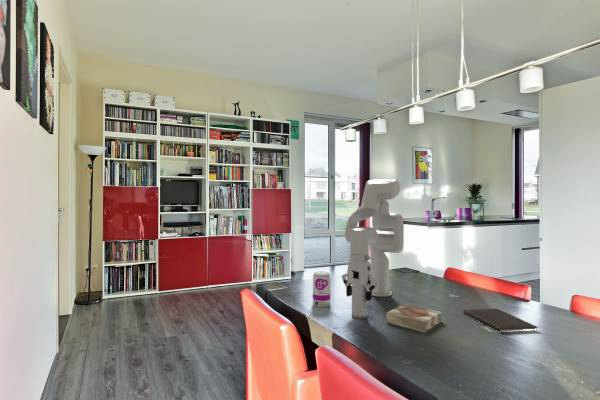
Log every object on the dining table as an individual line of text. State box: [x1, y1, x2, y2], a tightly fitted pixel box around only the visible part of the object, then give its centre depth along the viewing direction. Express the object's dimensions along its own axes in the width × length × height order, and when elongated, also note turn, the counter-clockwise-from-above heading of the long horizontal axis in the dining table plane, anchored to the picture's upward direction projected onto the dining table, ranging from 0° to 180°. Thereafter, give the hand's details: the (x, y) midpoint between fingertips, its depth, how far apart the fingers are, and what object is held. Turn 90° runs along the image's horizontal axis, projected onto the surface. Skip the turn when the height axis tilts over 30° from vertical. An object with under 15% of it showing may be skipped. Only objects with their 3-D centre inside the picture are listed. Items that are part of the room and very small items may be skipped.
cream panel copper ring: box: [385, 303, 442, 333], centre depth 146 cm, size 16×16×4 cm
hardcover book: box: [462, 308, 539, 332], centre depth 147 cm, size 16×23×2 cm
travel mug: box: [351, 270, 368, 320], centre depth 152 cm, size 6×7×20 cm
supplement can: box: [312, 271, 331, 308], centre depth 168 cm, size 8×8×15 cm
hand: (358, 298), depth 152 cm, fingers open, 9 cm apart
